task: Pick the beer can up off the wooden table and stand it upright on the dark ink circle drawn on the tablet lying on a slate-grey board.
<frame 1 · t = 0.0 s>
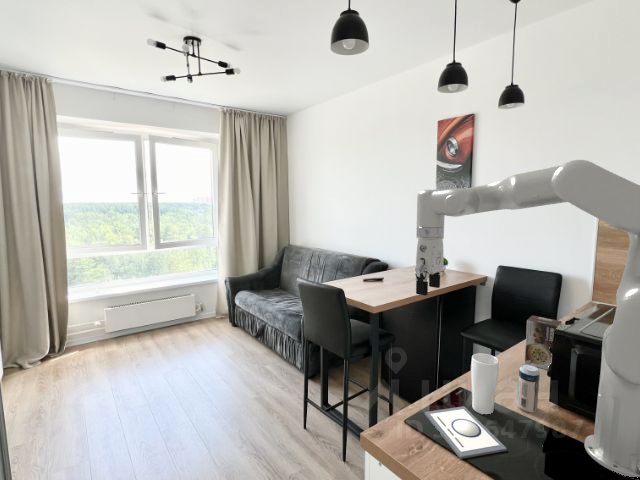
hand: (428, 290, 101), 31 cm above the counter, tool pointing down, fingers open, 9 cm apart
beer can: (526, 408, 96), on the counter
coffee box: (541, 365, 120), on the counter
drinking glass: (482, 410, 95), on the counter
tablet: (462, 430, 87), on the counter
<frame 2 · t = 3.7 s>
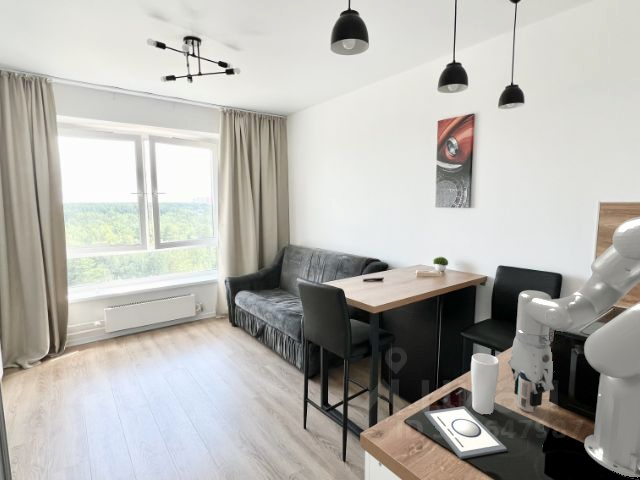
hand: (527, 398, 95), 3 cm above the counter, tool pointing down, fingers closed on beer can, 4 cm apart
beer can: (526, 408, 96), on the counter, touching gripper
everything else where it was.
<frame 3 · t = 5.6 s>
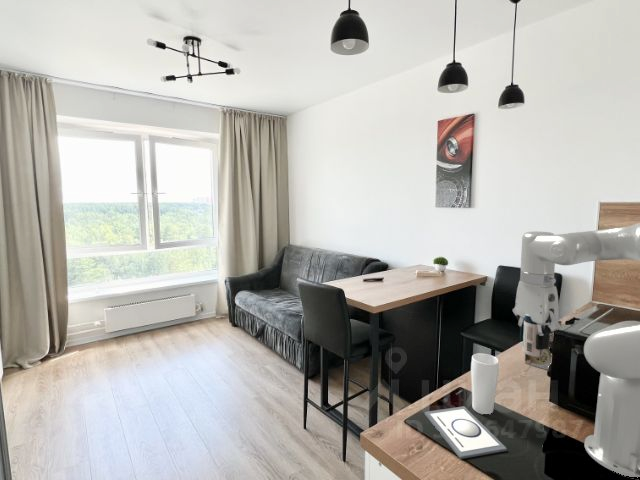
hand: (533, 343, 93), 19 cm above the counter, tool pointing down, fingers closed on beer can, 4 cm apart
beer can: (532, 354, 93), point 16 cm above the counter, touching gripper
everything else where it was.
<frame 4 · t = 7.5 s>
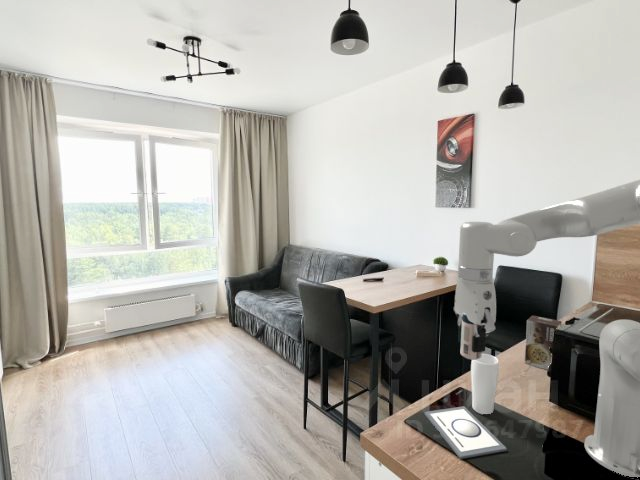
hand: (471, 345, 84), 22 cm above the counter, tool pointing down, fingers closed on beer can, 4 cm apart
beer can: (470, 357, 85), point 19 cm above the counter, touching gripper
everything else where it was.
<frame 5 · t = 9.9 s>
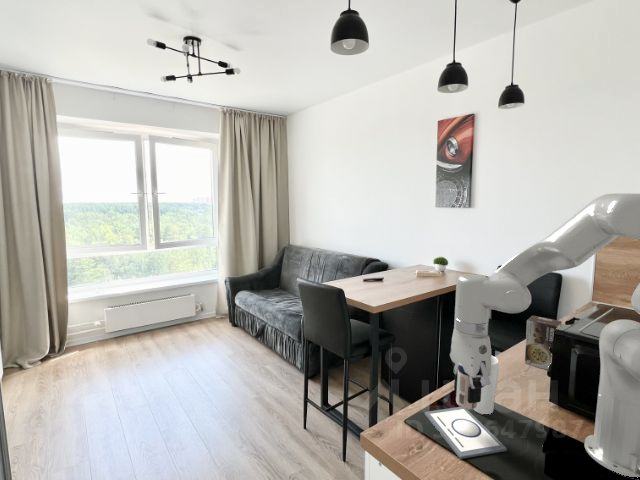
hand: (466, 394, 86), 10 cm above the counter, tool pointing down, fingers closed on beer can, 4 cm apart
beer can: (466, 405, 86), point 7 cm above the counter, touching gripper
everything else where it was.
when the fingers open (5 cm above the counter, at t = 11.7 s): beer can drops 1 cm, resting on tablet.
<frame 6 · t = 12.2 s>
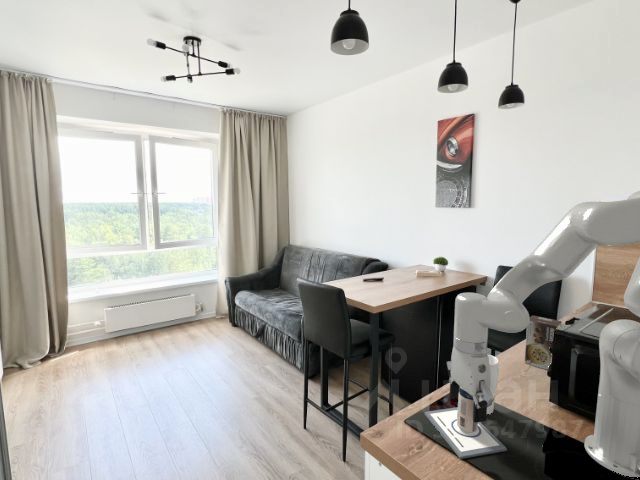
hand: (466, 408, 86), 6 cm above the counter, tool pointing down, fingers open, 9 cm apart
beer can: (466, 428, 87), point 1 cm above the counter, touching tablet
everything else where it was.
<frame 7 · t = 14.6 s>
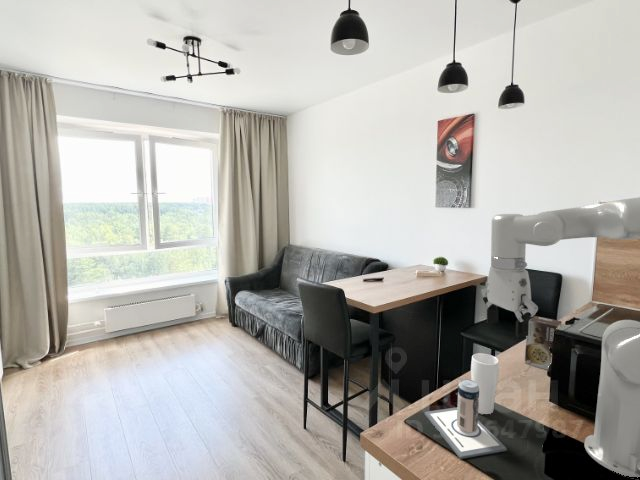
hand: (506, 329, 88), 25 cm above the counter, tool pointing down, fingers open, 9 cm apart
nothing on the counter moved.
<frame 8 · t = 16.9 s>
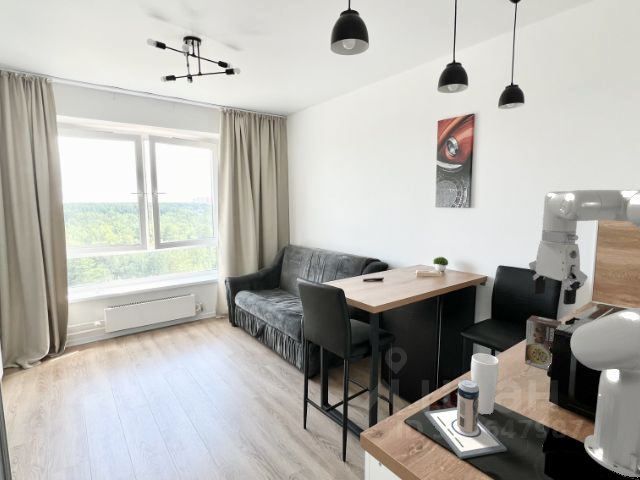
hand: (553, 298, 95), 30 cm above the counter, tool pointing down, fingers open, 9 cm apart
nothing on the counter moved.
at the end: beer can inside the target area on the tablet (0.2 cm from its centre), point 0.6 cm above the tablet's base; beer can tilted 0°; the gripper is holding nothing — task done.
